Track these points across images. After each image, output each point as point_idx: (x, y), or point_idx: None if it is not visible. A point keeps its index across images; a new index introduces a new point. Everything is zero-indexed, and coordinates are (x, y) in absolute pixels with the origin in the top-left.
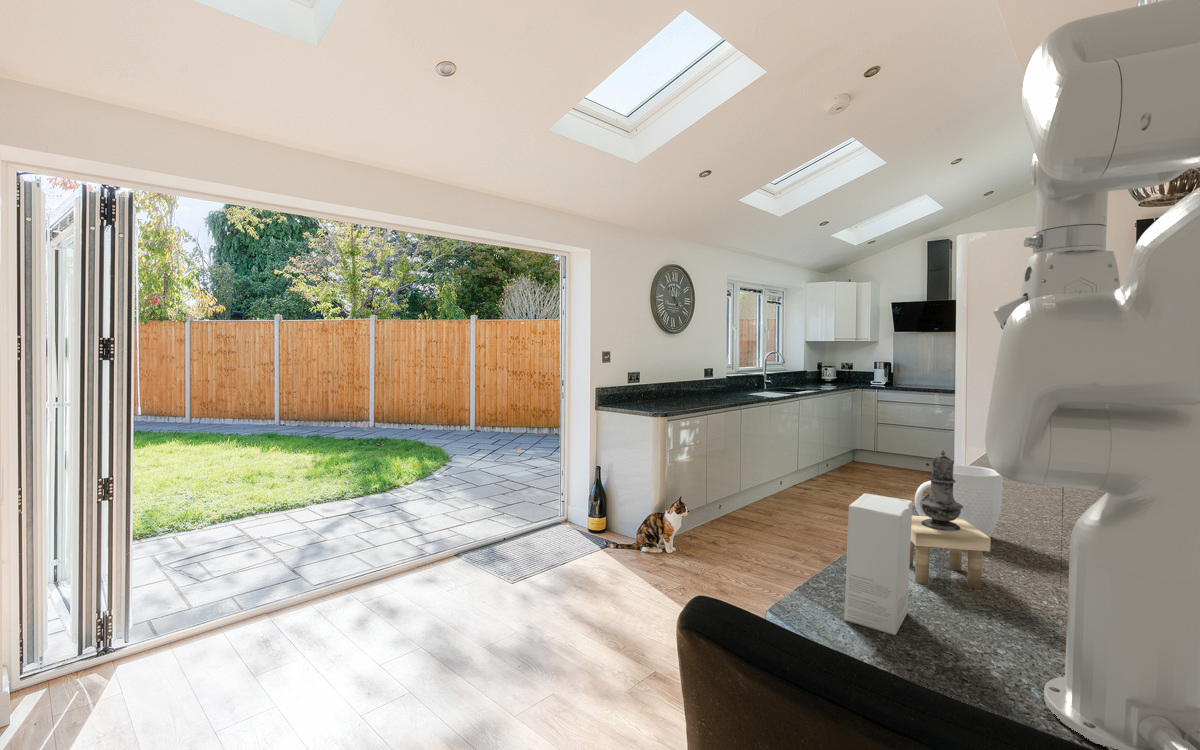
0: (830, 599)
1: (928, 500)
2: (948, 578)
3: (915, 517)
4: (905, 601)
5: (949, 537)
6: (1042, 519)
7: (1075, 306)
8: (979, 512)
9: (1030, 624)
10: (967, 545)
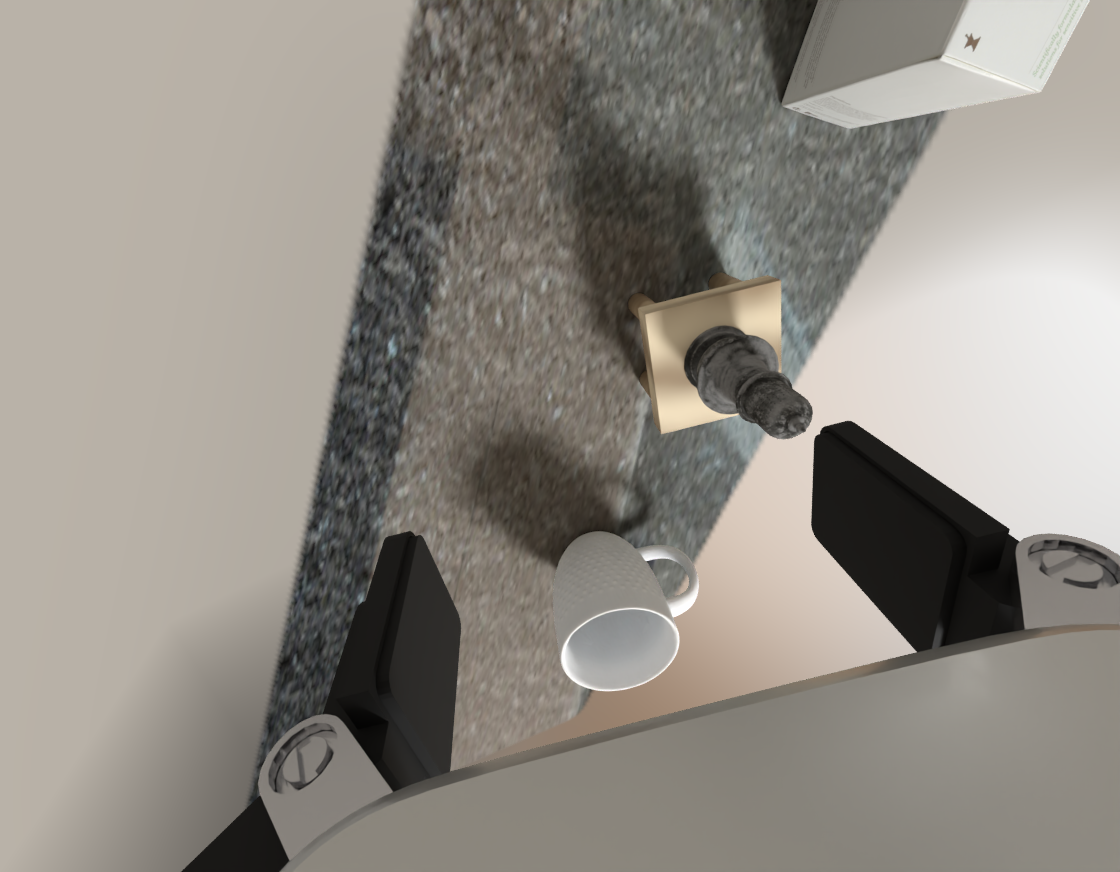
0: None
1: (768, 366)
2: None
3: None
4: (817, 44)
5: (717, 294)
6: (459, 690)
7: None
8: (595, 556)
9: (590, 160)
10: (679, 299)
